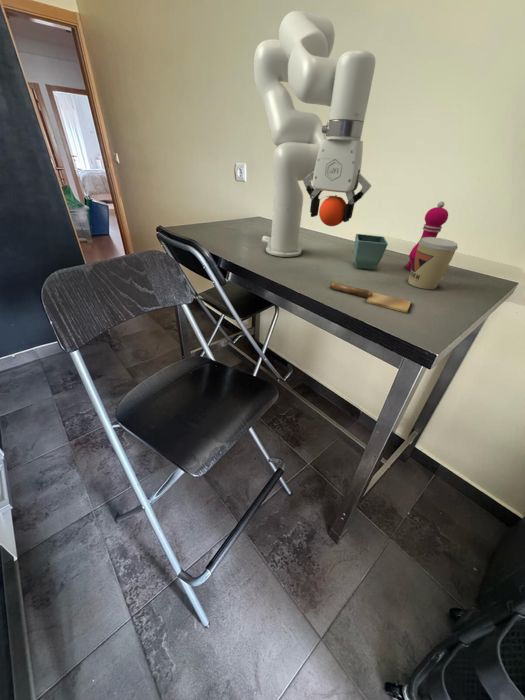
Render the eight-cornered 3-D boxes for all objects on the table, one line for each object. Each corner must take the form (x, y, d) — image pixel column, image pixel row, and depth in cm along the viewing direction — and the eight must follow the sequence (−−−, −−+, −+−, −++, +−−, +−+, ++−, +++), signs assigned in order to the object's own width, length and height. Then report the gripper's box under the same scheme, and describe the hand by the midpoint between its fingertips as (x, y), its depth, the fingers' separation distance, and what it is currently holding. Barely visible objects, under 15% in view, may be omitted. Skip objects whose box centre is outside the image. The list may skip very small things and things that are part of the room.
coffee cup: (400, 277, 86) (414, 235, 79) (430, 279, 86) (447, 237, 79) (412, 289, 78) (429, 244, 72) (446, 291, 79) (466, 247, 72)
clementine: (310, 226, 72) (314, 194, 68) (316, 221, 77) (320, 191, 73) (341, 230, 70) (348, 198, 66) (345, 225, 75) (352, 195, 71)
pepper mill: (401, 269, 92) (424, 200, 81) (409, 264, 97) (432, 198, 85) (424, 275, 89) (452, 204, 77) (431, 270, 93) (459, 202, 82)
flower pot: (379, 273, 88) (388, 243, 83) (350, 269, 89) (357, 240, 84) (376, 264, 95) (384, 236, 90) (349, 261, 96) (355, 233, 91)
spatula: (326, 291, 74) (327, 285, 73) (333, 284, 78) (334, 278, 77) (406, 313, 66) (409, 306, 65) (410, 303, 71) (412, 297, 69)
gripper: (301, 130, 63) (292, 215, 73) (380, 132, 56) (358, 226, 66) (314, 133, 69) (304, 212, 79) (388, 134, 62) (367, 221, 71)
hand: (329, 218), depth 72 cm, fingers closed on clementine, 8 cm apart
